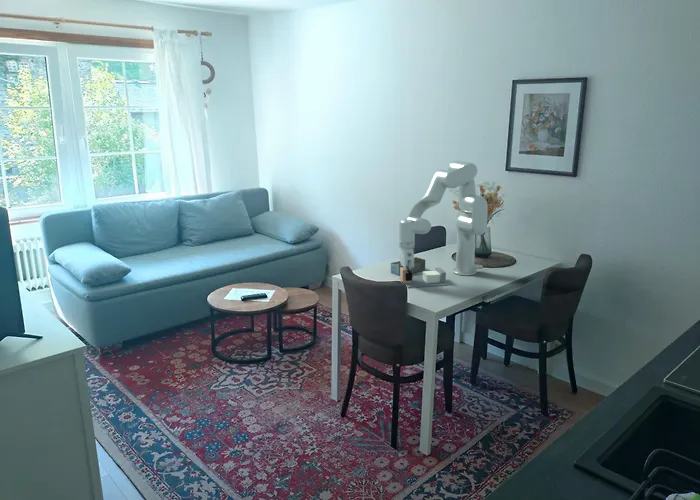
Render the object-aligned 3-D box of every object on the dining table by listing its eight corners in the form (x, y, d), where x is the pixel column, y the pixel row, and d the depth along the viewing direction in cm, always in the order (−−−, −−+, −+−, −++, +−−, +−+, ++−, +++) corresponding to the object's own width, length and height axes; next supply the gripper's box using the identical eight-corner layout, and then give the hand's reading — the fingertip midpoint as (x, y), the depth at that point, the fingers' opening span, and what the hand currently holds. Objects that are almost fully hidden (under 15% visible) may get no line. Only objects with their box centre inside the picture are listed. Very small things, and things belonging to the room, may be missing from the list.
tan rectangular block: (409, 279, 271) (409, 266, 269) (412, 282, 266) (412, 269, 264) (399, 280, 270) (400, 267, 268) (402, 283, 265) (402, 270, 263)
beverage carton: (389, 273, 286) (389, 261, 284) (416, 267, 297) (416, 256, 295) (399, 276, 279) (399, 264, 278) (426, 270, 290) (426, 259, 289)
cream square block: (439, 277, 275) (439, 267, 274) (445, 282, 267) (445, 272, 266) (422, 278, 274) (422, 268, 273) (427, 283, 265) (427, 273, 264)
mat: (436, 276, 279) (436, 275, 279) (447, 285, 264) (447, 284, 263) (399, 278, 276) (399, 277, 275) (408, 288, 260) (408, 286, 260)
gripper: (419, 248, 256) (418, 282, 260) (409, 240, 272) (408, 272, 276) (404, 249, 254) (403, 283, 259) (394, 240, 271) (394, 273, 275)
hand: (406, 277), depth 267 cm, fingers open, 9 cm apart
